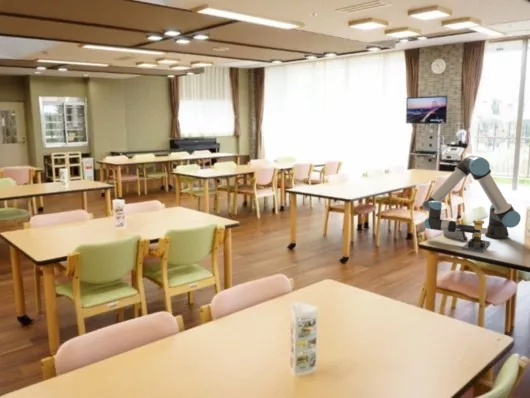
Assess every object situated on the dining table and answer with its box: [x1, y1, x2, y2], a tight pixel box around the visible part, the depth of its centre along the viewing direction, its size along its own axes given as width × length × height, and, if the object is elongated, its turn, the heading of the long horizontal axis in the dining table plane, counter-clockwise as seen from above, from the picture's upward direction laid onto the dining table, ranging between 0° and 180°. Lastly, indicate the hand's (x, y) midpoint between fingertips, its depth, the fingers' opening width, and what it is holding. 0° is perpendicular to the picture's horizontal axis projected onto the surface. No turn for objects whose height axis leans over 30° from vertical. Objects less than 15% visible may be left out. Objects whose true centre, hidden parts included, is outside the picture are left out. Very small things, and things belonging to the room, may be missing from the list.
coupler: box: [472, 219, 485, 242], centre depth 313 cm, size 6×6×14 cm
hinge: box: [443, 230, 468, 241], centre depth 338 cm, size 17×5×10 cm, turn 29°
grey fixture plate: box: [462, 233, 491, 253], centre depth 315 cm, size 27×12×5 cm, turn 147°
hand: (486, 231), depth 310 cm, fingers closed on coupler, 5 cm apart
